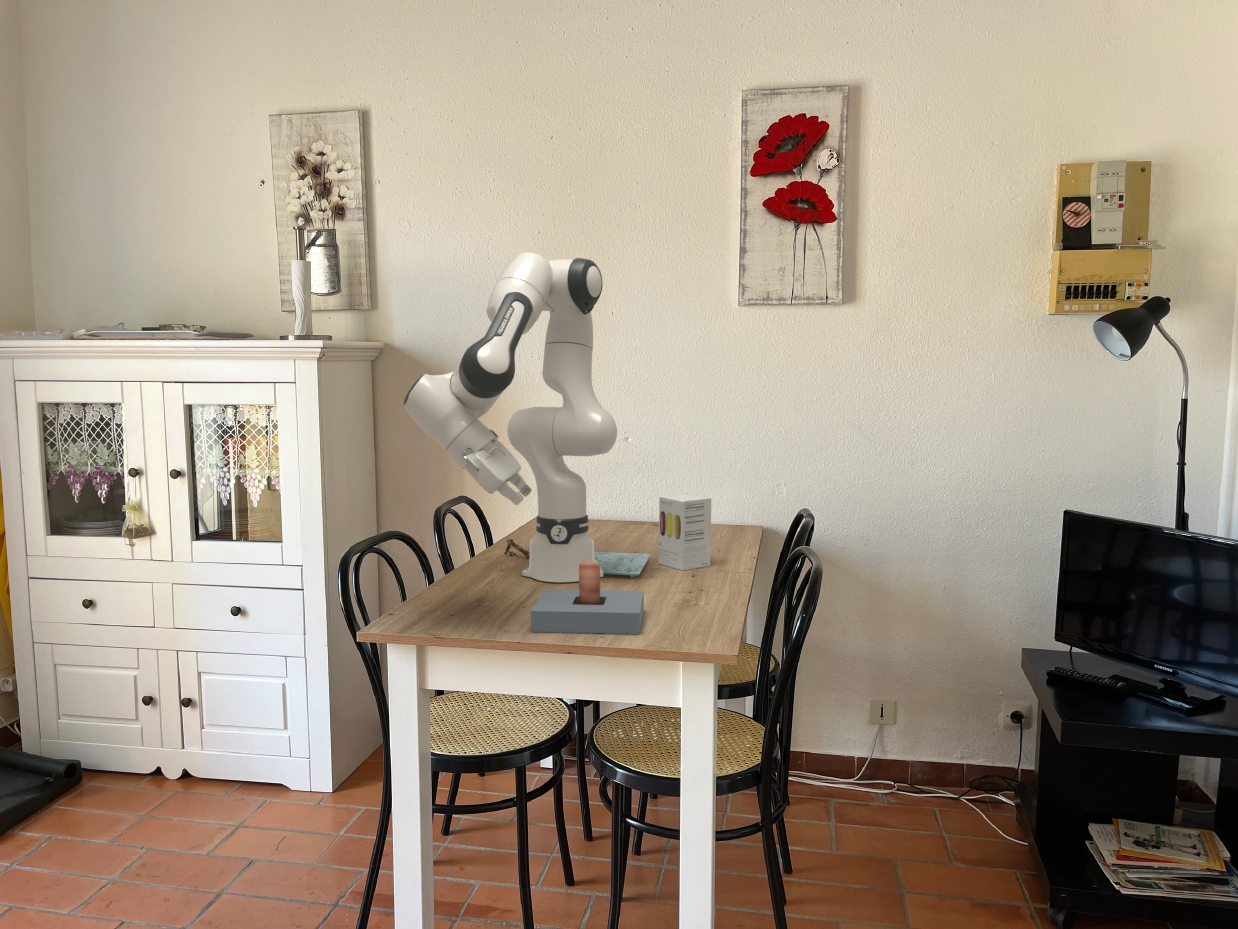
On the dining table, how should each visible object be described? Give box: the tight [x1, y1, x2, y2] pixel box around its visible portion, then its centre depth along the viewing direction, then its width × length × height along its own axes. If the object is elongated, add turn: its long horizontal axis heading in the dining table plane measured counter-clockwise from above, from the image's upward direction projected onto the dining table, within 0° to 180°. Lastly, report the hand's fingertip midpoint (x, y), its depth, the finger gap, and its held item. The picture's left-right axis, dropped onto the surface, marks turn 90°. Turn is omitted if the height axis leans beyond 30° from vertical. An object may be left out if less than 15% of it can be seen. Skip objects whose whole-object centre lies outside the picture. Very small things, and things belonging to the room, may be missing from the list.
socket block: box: [530, 588, 645, 635], centre depth 176 cm, size 16×20×4 cm
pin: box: [578, 562, 601, 605], centre depth 176 cm, size 4×4×10 cm
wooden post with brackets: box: [503, 538, 530, 560], centre depth 234 cm, size 2×8×4 cm, turn 61°
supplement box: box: [658, 493, 712, 571], centre depth 224 cm, size 10×9×17 cm
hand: (525, 498), depth 175 cm, fingers open, 8 cm apart
